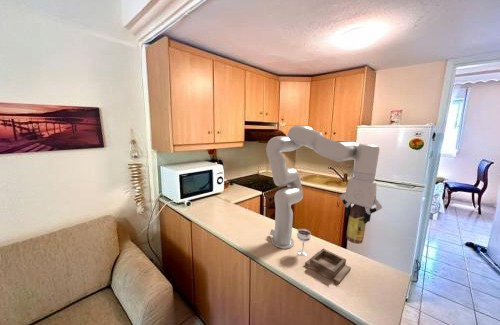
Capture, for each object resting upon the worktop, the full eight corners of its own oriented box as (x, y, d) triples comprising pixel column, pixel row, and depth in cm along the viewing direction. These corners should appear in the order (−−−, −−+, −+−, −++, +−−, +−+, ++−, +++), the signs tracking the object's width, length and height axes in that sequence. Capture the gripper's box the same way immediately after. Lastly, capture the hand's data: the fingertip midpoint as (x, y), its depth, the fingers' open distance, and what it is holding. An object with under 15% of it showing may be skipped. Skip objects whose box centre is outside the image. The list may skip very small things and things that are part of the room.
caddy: (304, 265, 96) (305, 256, 95) (318, 254, 105) (319, 246, 104) (338, 284, 85) (339, 275, 84) (350, 270, 93) (351, 261, 93)
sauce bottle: (358, 246, 79) (364, 198, 76) (343, 239, 84) (348, 193, 81) (366, 241, 83) (372, 195, 79) (351, 234, 88) (356, 191, 84)
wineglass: (296, 248, 110) (298, 227, 108) (309, 251, 107) (311, 230, 105) (294, 255, 103) (296, 233, 101) (308, 258, 101) (310, 236, 99)
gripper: (337, 172, 82) (331, 214, 85) (387, 183, 69) (378, 231, 73) (344, 170, 87) (339, 209, 90) (392, 179, 75) (384, 224, 78)
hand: (356, 218), depth 82 cm, fingers closed on sauce bottle, 6 cm apart
